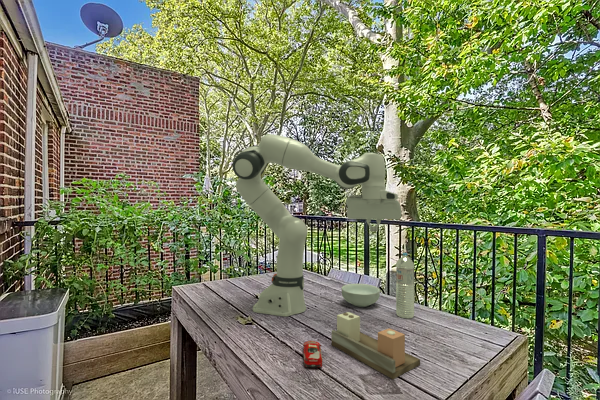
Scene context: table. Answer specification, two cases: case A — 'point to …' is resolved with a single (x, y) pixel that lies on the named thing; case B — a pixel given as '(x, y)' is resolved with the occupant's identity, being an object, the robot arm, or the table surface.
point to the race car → (312, 354)
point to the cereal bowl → (360, 294)
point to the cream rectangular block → (349, 325)
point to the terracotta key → (392, 345)
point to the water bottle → (405, 287)
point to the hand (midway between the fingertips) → (373, 231)
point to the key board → (372, 354)
